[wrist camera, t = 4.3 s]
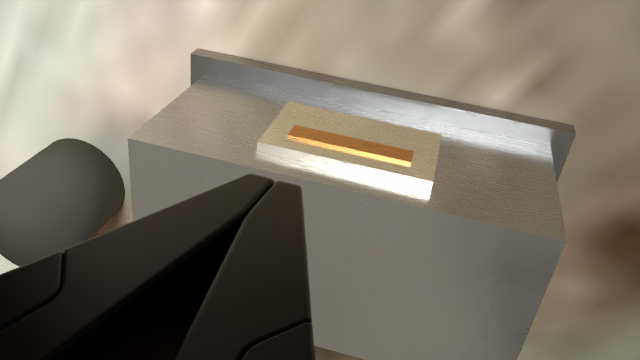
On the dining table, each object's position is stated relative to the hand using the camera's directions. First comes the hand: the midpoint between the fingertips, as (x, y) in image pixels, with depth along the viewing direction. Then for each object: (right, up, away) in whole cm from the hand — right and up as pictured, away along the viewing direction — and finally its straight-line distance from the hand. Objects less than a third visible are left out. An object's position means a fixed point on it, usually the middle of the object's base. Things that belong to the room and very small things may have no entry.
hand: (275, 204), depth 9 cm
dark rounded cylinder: (-10, 0, +17) cm, 20 cm away
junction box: (+2, +1, +13) cm, 13 cm away
